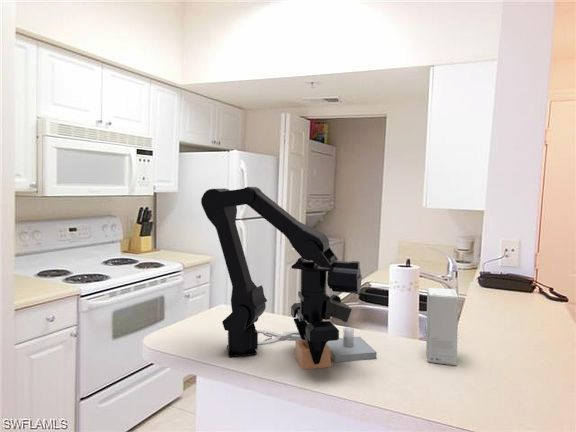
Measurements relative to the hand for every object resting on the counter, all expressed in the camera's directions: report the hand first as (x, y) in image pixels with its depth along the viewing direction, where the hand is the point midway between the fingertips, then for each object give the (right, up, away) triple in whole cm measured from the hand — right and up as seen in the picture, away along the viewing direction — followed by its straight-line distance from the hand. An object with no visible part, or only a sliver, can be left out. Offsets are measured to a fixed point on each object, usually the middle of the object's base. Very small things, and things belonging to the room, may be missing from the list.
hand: (312, 357), depth 94 cm
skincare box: (+30, -1, +4) cm, 30 cm away
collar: (0, -1, 0) cm, 1 cm away
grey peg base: (+9, -1, +6) cm, 11 cm away
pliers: (-9, 0, +14) cm, 17 cm away
